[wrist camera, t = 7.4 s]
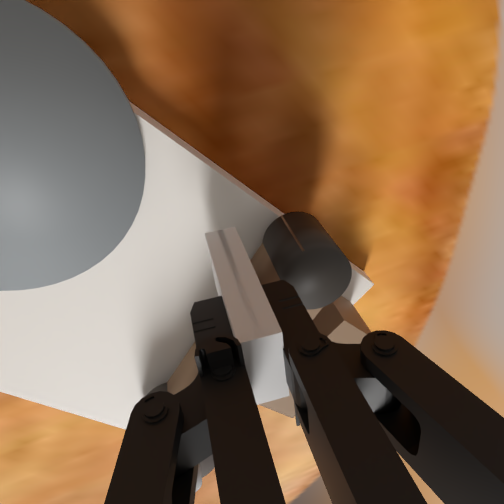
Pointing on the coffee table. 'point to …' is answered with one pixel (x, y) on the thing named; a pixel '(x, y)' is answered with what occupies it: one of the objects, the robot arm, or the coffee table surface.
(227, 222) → the stand board
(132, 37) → the coffee table surface
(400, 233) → the coffee table surface
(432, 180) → the coffee table surface
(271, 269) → the leg
